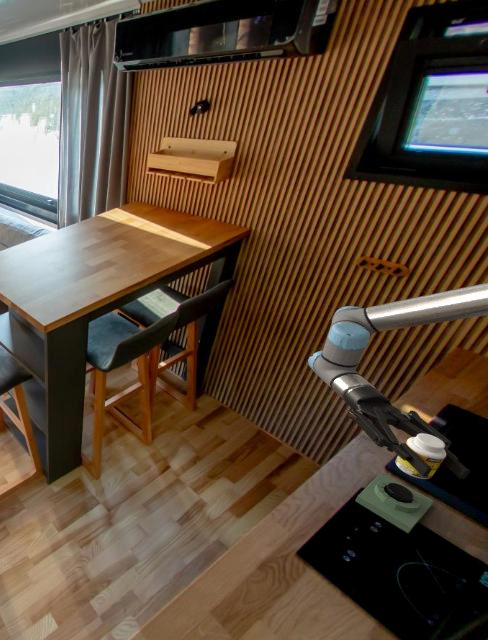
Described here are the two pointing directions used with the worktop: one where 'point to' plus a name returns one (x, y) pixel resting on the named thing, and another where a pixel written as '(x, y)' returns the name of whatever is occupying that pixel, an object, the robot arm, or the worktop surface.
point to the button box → (393, 503)
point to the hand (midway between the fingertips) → (445, 473)
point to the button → (399, 492)
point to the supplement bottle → (424, 454)
